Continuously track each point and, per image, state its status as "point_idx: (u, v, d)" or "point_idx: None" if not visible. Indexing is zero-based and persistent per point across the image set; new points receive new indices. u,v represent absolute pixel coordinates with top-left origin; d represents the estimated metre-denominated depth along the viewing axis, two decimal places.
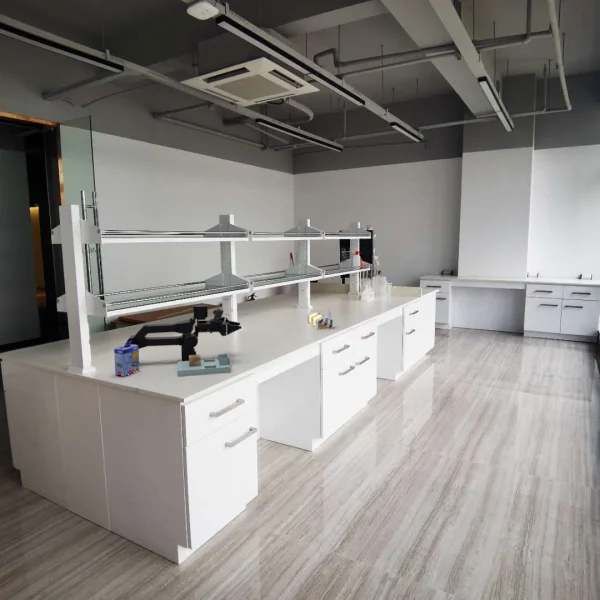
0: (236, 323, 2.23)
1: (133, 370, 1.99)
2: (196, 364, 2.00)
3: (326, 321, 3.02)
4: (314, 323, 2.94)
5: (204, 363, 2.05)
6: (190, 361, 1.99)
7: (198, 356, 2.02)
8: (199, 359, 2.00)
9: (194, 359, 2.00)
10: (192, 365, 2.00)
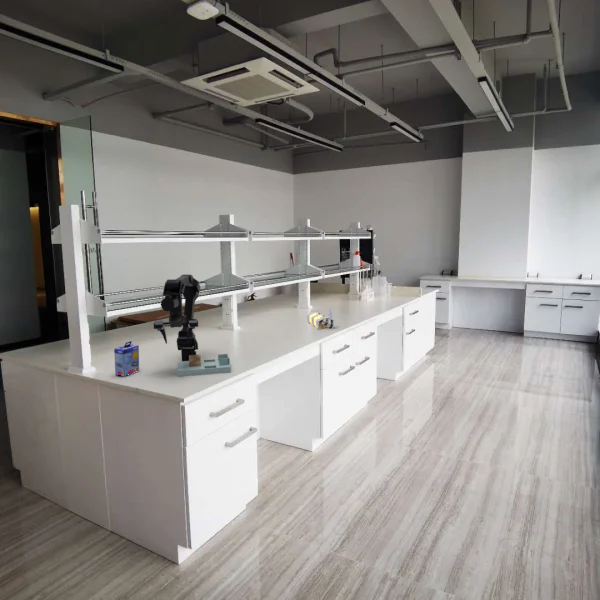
0: (187, 338, 2.00)
1: (133, 370, 1.99)
2: (196, 364, 2.00)
3: (326, 321, 3.02)
4: (315, 323, 2.94)
5: (204, 363, 2.05)
6: (190, 361, 1.99)
7: (198, 356, 2.02)
8: (199, 359, 2.00)
9: (194, 359, 2.00)
10: (192, 365, 2.00)
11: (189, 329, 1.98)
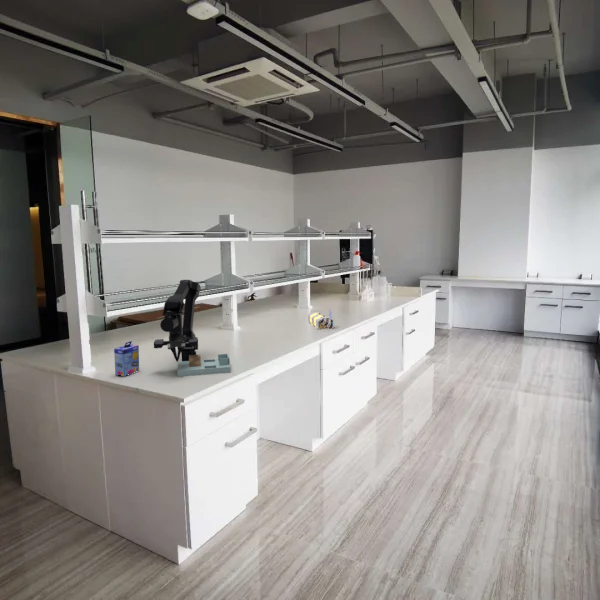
0: None
1: (133, 370, 1.99)
2: (196, 364, 2.00)
3: (327, 321, 3.02)
4: (315, 323, 2.95)
5: (204, 363, 2.05)
6: (190, 361, 1.99)
7: (198, 356, 2.02)
8: (199, 359, 2.00)
9: (194, 359, 2.00)
10: (192, 365, 2.00)
11: (179, 349, 1.98)
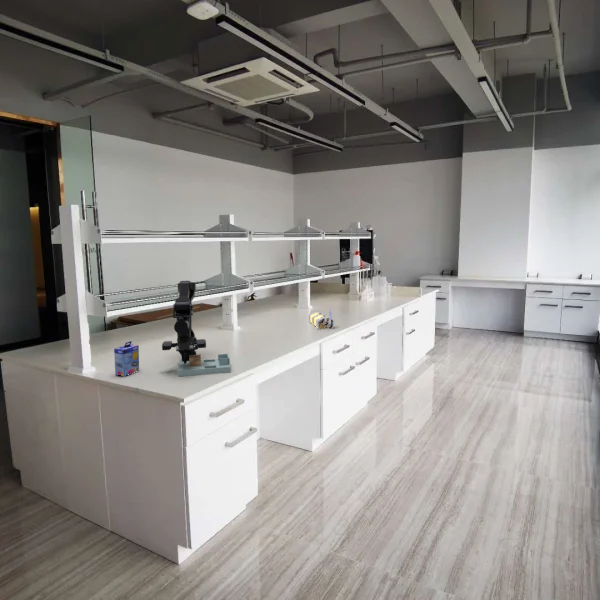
0: None
1: (133, 370, 1.99)
2: (196, 364, 2.00)
3: (327, 321, 3.02)
4: (315, 323, 2.95)
5: (204, 363, 2.05)
6: (190, 361, 1.99)
7: (198, 356, 2.02)
8: (199, 359, 2.00)
9: (194, 359, 2.00)
10: (192, 365, 2.00)
11: (187, 351, 1.99)
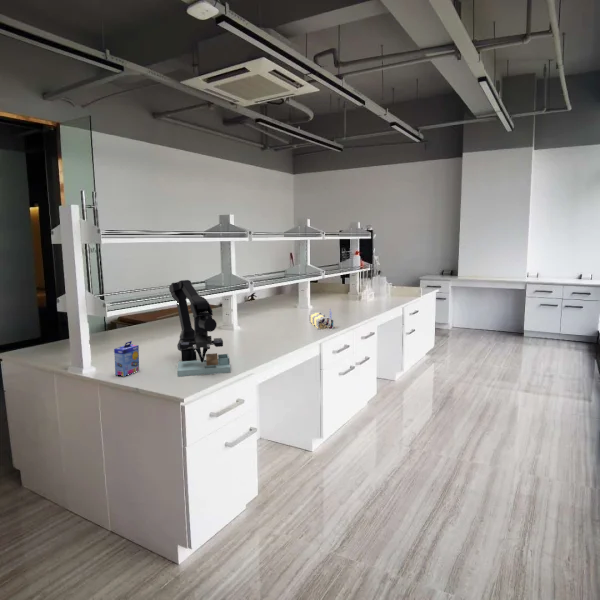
0: None
1: (133, 370, 1.99)
2: (213, 363, 2.02)
3: (327, 321, 3.02)
4: (315, 323, 2.95)
5: (204, 363, 2.05)
6: (207, 359, 2.01)
7: (215, 355, 2.03)
8: (216, 358, 2.02)
9: (211, 358, 2.02)
10: (209, 364, 2.02)
11: (204, 349, 2.00)
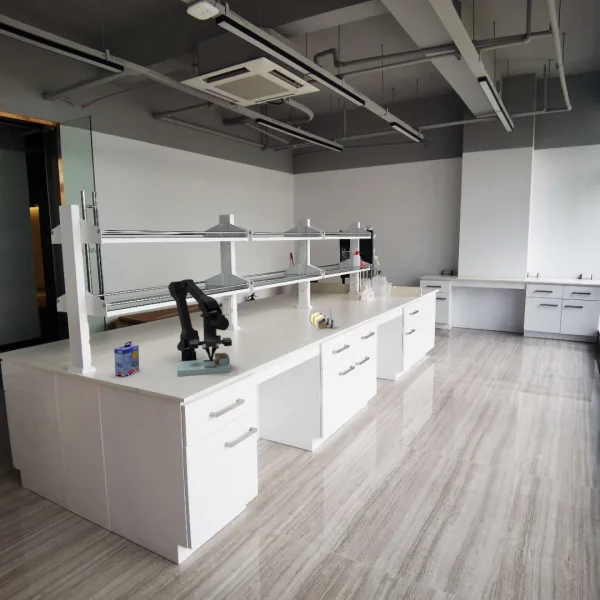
0: None
1: (133, 370, 1.99)
2: None
3: (328, 321, 3.02)
4: (315, 323, 2.95)
5: (204, 363, 2.05)
6: (216, 359, 2.02)
7: (224, 354, 2.04)
8: (225, 357, 2.03)
9: (220, 357, 2.03)
10: (218, 363, 2.03)
11: (213, 349, 2.01)
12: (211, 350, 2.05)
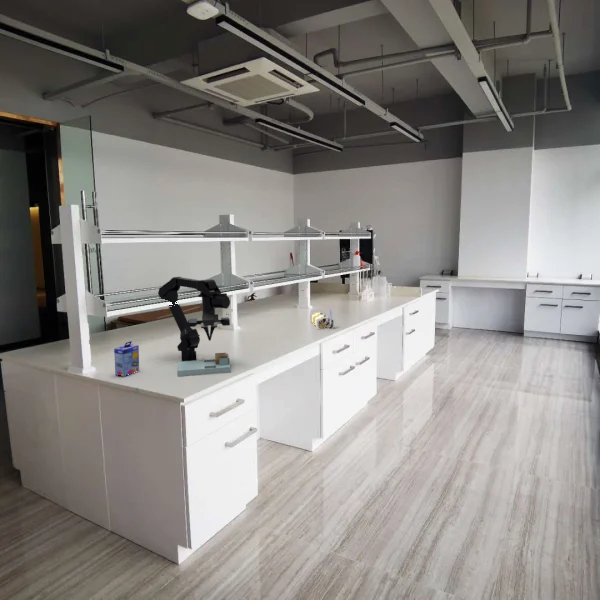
0: (209, 336, 2.08)
1: (133, 370, 1.99)
2: None
3: (328, 321, 3.02)
4: (315, 323, 2.95)
5: (204, 363, 2.05)
6: (216, 359, 2.02)
7: (224, 354, 2.04)
8: (225, 357, 2.03)
9: (220, 357, 2.03)
10: (218, 363, 2.03)
11: (211, 328, 2.06)
12: None
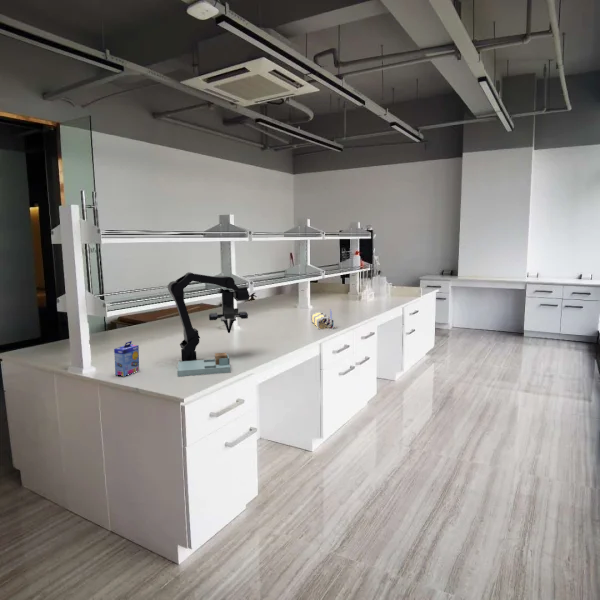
0: None
1: (133, 370, 1.99)
2: None
3: (328, 321, 3.02)
4: (316, 323, 2.95)
5: (204, 363, 2.05)
6: (216, 359, 2.02)
7: (224, 354, 2.04)
8: (225, 357, 2.03)
9: (220, 357, 2.03)
10: (218, 363, 2.03)
11: (231, 321, 2.22)
12: (229, 323, 2.26)
